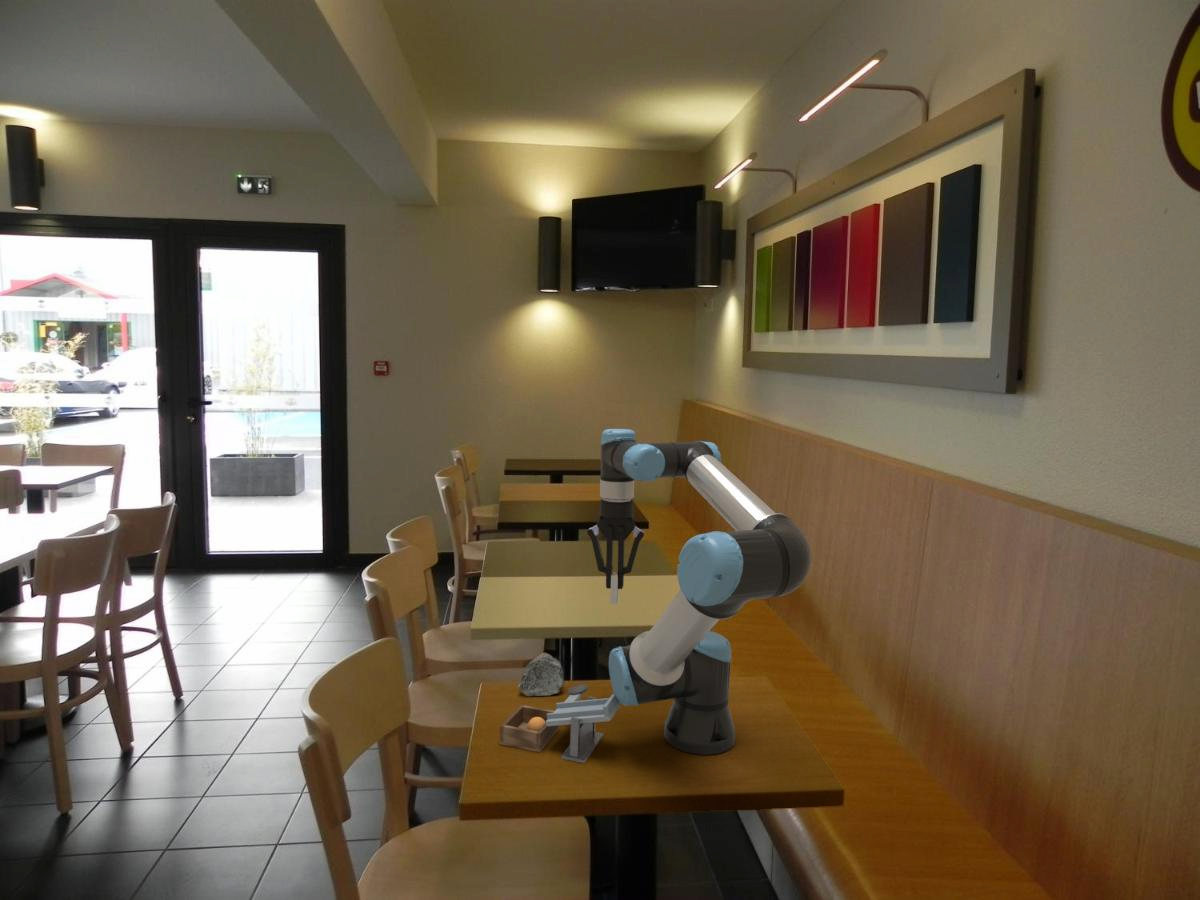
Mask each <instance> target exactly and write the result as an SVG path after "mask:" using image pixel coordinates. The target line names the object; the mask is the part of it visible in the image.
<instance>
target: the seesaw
mask: <svg viewBox="0 0 1200 900" xmlns="http://www.w3.org/2000/svg"><path fill="white" fill-rule="evenodd" d="M567 691H568V692H567V693H568V695H569V696H568V697H567V698H566V700H564V701H562V702H556V703H555V706H556V709H555V710H553V711H554V712H553V713H548V714H547V721H546V726H556V725H559V726H565V725H571V718H572V717H574V718H579V719H580V723H592V722H596V723H601V722H603V723H604V722H610V721H611V720H612V719H613V717H614V716H615V714H616V712H618V710H619V709H620V707H621V706H622V704H621V703H620V702H619V701H618V699H617V698H616V696H615V693H614V692H613V693H612V694H611V695H610V697H606V698H598V699H597V698H596V699H593V700H588V699H586V700H585V699H584V700H583V699H582V700H580V699H581V698H582V697H583V696H584V695H585V693H586V692H587V691H588V684H582V683H581V684H576V685H574V686H573V685H572V686H571V687H569V688H568V690H567Z"/></svg>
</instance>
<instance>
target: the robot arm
mask: <svg viewBox="0 0 1200 900" xmlns="http://www.w3.org/2000/svg"><path fill="white" fill-rule="evenodd" d="M600 440H601V441H600V442H601V444H600V446H599V447H600V479H599V480H600V481H599V497H600V500H599V518H598V521H597V523H596V524H595V525H593V526H592V527H589V528H588V529H587V532H586V534H587V535H588V536H589V538H590V540H591V543H592V549H593V552H594V557H595V563H596V566H597V570H598V571H599V572H600V573H604V574H605V587H606V589H610V602H609V603H610V605H618V603H619V590H623V588H624V582H625V581H624V580H625V576H624V575H627V574H631V572H632V570H633V566H634V563H635V559H636V557H637V556H636V555H637V552H638V548H639V544H640V542H641V540H642V539H643V537H644V536H645V530H644V529H640V528H639V527H638V526H636V522H635V520H634V510H635V509H634V508H635V507H634V503H635V501H633V499H634V497H635V480H636V481H638V482H647V483H648V482H654V481H655V480H657V479H668V478H669V479H671V478H676V479H677V478H684V479H685V480H686V481H687V482H688V483H689V484H690V485H691V486H692V487H693V488H694V489H695V490H696V491H697V493H699V494H700V495H701V496H702V497H703V498H704V500H705V501H707V502H708V503H709V504H710V506H712V508H713V509H714V511H716V512H717V513H718V514H719V515H720V516H721V517H722V518H723V519H724V520H725V521H726V522H727V523H728V524H729V525H730V526H731V527H732V528H733V529H734V531H719V530H718V531H710V532H706V533H701V534H700V533H699V534H698V535H694V536H693V537H691V538H689V539H688V540H687V541H686V542H685V544H684V545H683V546H682V548H681V551H680V553H679V555H678V561H679V564H677V566H676V570H677V571H676V573H677V581H678V585H679V588H680V589H679V591H678V592H677V594H676V595H675V596H674V598H673V599H672V600H671V601H670V603H669V604H668V605H667V607H666V609H665V610H664V611H663V612H662V613H661V615H660V616H659V618H658V619H657V621H656V622H655V623H654V624H653V626H652V627H651V629H650V630H646V631H643V632H642V633H640V634H638V635H636V636H635V638H634V639H633V640H632V641H631V643H630V644H629V645H628V646H627V645H626V646H617V647H615V648H613V649H611V651H610V652H609V656H608V674H609V680H610V684H611V687H612V689H613V693H615V696H616V698H617V699H618V701H619V702H620V703H621V705H622V706H626V707H629V706H631V707H632V706H639V705H643V704H650V703H656V702H660V701H662V702H663V701H666V700H673V701H672V704H671V707H670V709H669V712H668V715H667V717H666V720H665V721H664V728H663V731H664V732H663V736H664V737H663V738H664V739H665V741H666V742H667V743H668V744H669V745H670V746H672V747H673V748H675V749H677V750H679V751H682V752H685V753H688V754H689V753H690V754H694V755H703V756H705V755H706V756H707V755H717V754H720V753H721V754H722V753H724V752H727V751H728V750H730V749H731V748H732V747H734V745H735V742H736V740H735V739H736V728H735V726H734V725H735V724H734V721H733V718H732V714H731V710H730V707H729V701H730V700H729V698H730V697H729V696H730V682H731V678H730V677H731V667H732V666H731V663H732V661H733V660H732V647H731V643H730V642H729V640H728V639H727V637H725V636H724V635H722V634H719V633H718V632H715V631H711V630H712V629H713V627H714V626H716V624H717V623H718V622H719V621H720V620H728V619H730V618H732V617H733V616H735V615H736V614H737V613H738V612H740V610H741V609H742V608H743V606H744V605H746V603H748V602H749V601H753V600H761V599H769V598H770V599H772V598H779V597H783V596H787V595H788V594H791V593H793V592H795V591H796V590H797V589H799V588H800V586H801V585H802V584H803V583H804V582H805V580H806V579H807V577H808V574H809V573H810V570H811V565H812V552H811V551H812V550H811V546H810V542H809V540H808V538H807V536H806V535H805V534H804V532H803V530H802V529H801V528H800V527H799V526H798V525H797V524H796V523H795V522H794V521H793V520H792V519H791V518H790V517H788V516H787V515H785V514H784V513H780V512H778V513H777V512H775V511H774V510H773V509H772V508H771V507H769V505H767V504H766V503H765V502H764V501H763V500H762V499H761V498H760V497H759V496H758V495H757V494H756V493H754V492H753V491H752V490H751V489H750V488H749V487H748V486H747V485H745V483H743V482H742V481H741V480H740V479H739V478H738V477H737V476H736V475H734V474H733V473H732V471H731V470H729V469H728V468H727V467H726V466H725V465H724V464H723V463H722V455H721V452H720V451H719V447H718V446H717V444H716V443H714V442H711V441H702V440H696V441H677V442H675V441H674V442H671V441H670V442H667V441H665V442H664V441H663V442H638V441H637V439H636V432H635V431H634V430H633V429H628V428H627V429H626V428H607V429H606V428H605V429H604V430H603V431H602V433H601V439H600ZM632 532H633V538H634V540H633V542H632V546H631V551H630V554H629V557H628V562H627V565H626V566H625V550H626V549H625V546H626V545H625V543H626V540H627V539H628V537H629V536H630V535H631V533H632ZM600 533H601V534H602V536H603V537H604V538H605V539H606V557H605V558H606V559H605V561H606V563H605V562H604V557H603V551H602V548H601V547H602V546H601V543H600V539H599V534H600ZM614 541H617V548H618V550H617V551H618V552H617V572H613V570H614V569H613V567H614V566H613V563H614V559H613V558H614Z"/></svg>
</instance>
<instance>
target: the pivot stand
mask: <svg viewBox="0 0 1200 900" xmlns="http://www.w3.org/2000/svg"><path fill="white" fill-rule="evenodd" d="M593 699H597V697H596V696H591V695H588V697H587V700H593ZM596 723H597V722H592V723H580V719H579V718H574V717H572V718H571V724H570V736H569V737H570V742H569V745H568V747H566V749H565V750H564V752H563V753H562V754H561V757H560V758H561V760H566V761H570V762H571V761H572V762H575V763H576V762H577V763H579V764H581V763H582V764H586V762H587V761H588V759H589V758H590V756H591V755H592V753H593V752H594V750H595V749H596V747H597V746H598V744H599V743H600V741H601V740H602V738H603V737H604V732H599V731H596Z"/></svg>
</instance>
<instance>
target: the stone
mask: <svg viewBox="0 0 1200 900" xmlns="http://www.w3.org/2000/svg"><path fill="white" fill-rule="evenodd" d="M520 679H521V680H520V683H519V684H518V686H517V687H518V689H519V690H520V692H521V693H522V694H523V695H524V696H526V697H533V696H535V697H537V696H539V697H540V696H541V697H543V696H552V695H554V694H555V695H557V694H559V693H560V692H561V689H562V687H563V685H564V684H565V682H564V681H565V680H564V670H563V666H562V664H561V662H560V660H558V659H557V658H556V657H553V656H552V655H551V654H549V653H547V652H542V653H541V654H539V655H538V656H536V657H535V658H534V659H532V660H531V661H530V662H529V663H527V665H526V666H525V669H524V670H523V673H522V675H521V678H520Z"/></svg>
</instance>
